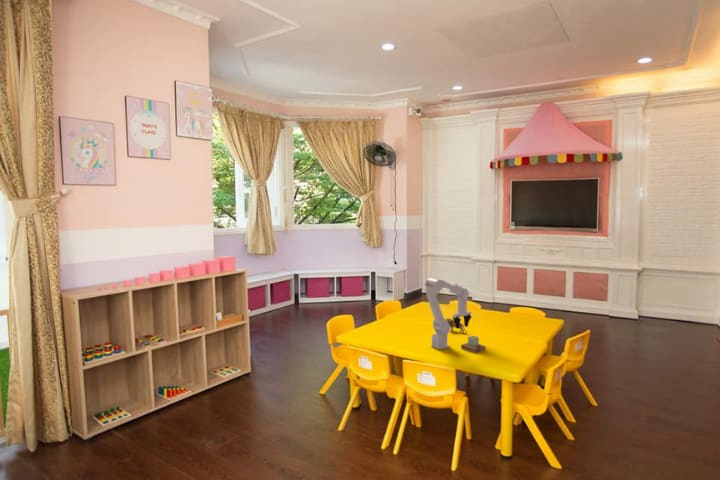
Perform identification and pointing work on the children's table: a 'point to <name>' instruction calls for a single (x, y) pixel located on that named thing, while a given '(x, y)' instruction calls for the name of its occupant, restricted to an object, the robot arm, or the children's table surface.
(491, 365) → the children's table surface
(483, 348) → the walnut plinth
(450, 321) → the lion figurine
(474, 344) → the sage block
